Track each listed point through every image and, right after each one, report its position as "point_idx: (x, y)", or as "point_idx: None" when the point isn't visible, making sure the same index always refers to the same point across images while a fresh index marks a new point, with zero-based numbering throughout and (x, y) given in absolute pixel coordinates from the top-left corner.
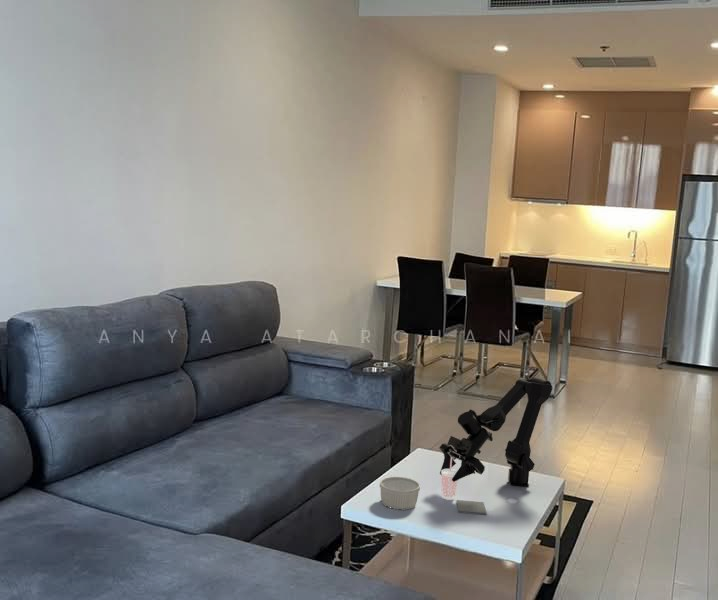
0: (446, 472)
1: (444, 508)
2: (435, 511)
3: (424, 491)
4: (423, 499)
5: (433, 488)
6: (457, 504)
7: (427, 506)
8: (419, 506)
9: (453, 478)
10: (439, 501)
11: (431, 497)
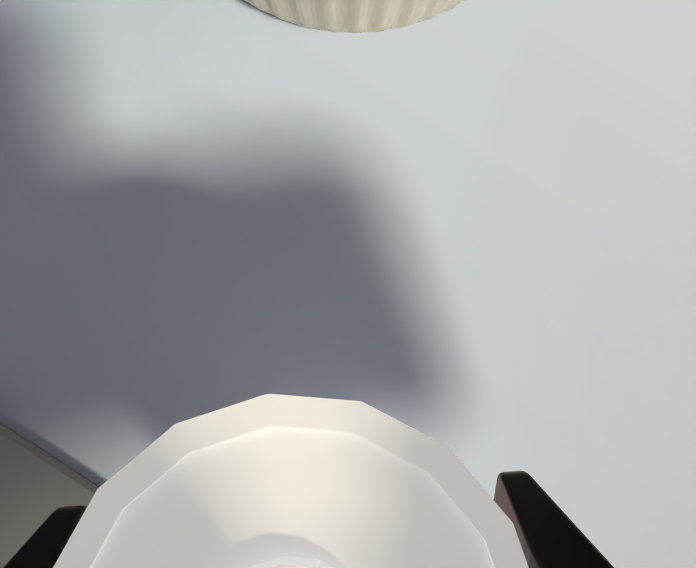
0: (307, 525)
1: (55, 260)
2: (32, 121)
3: (571, 321)
4: (360, 177)
5: (633, 493)
6: (28, 450)
7: (178, 114)
8: (211, 36)
9: (34, 539)
10: (245, 322)
11: (381, 298)
